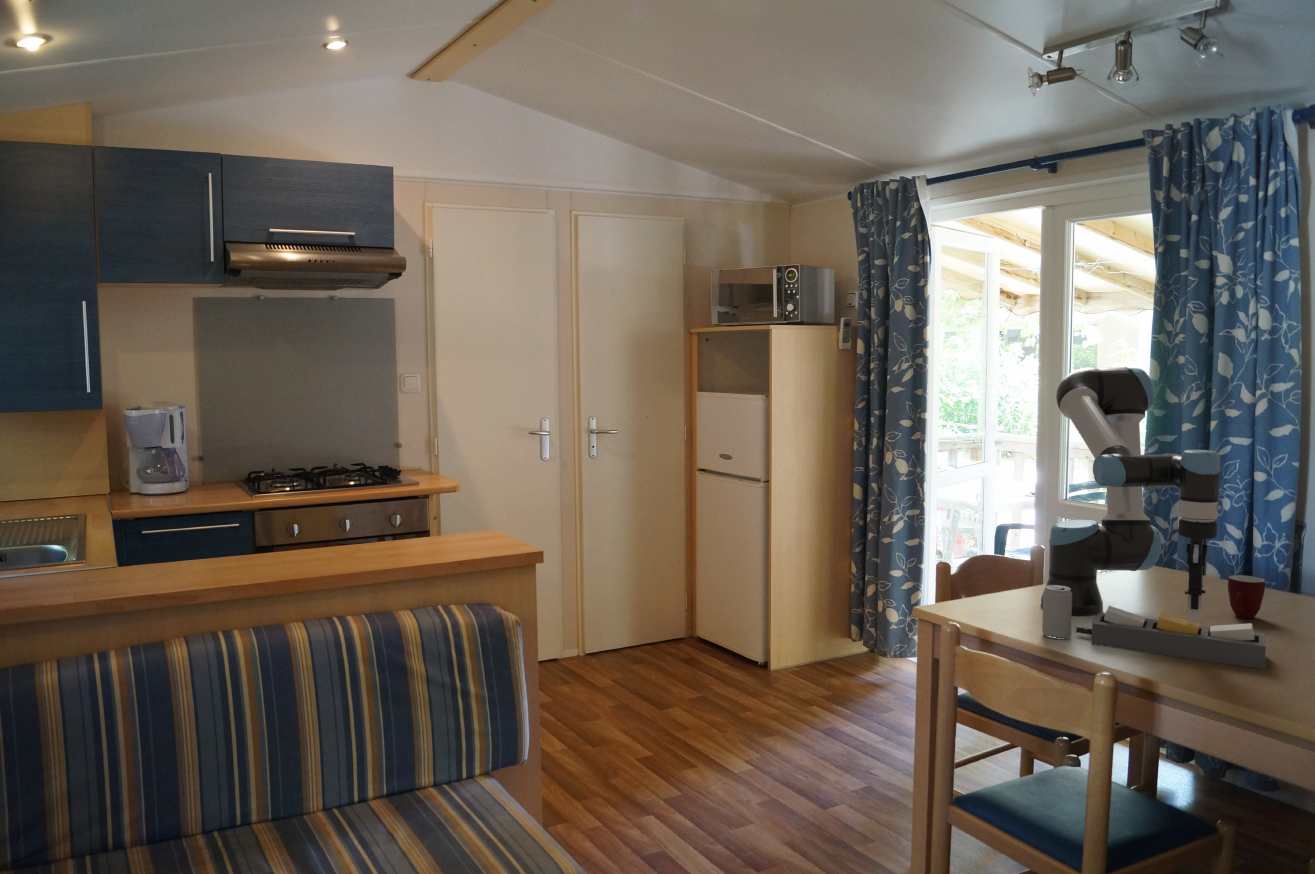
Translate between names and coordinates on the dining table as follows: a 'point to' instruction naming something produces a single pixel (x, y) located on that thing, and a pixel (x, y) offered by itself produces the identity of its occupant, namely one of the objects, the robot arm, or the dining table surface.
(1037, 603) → the dining table surface
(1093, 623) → the power strip
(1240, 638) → the rocker grey right
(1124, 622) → the rocker grey left
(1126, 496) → the robot arm
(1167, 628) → the rocker amber
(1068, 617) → the beverage can
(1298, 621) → the dining table surface
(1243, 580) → the mug
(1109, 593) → the dining table surface
